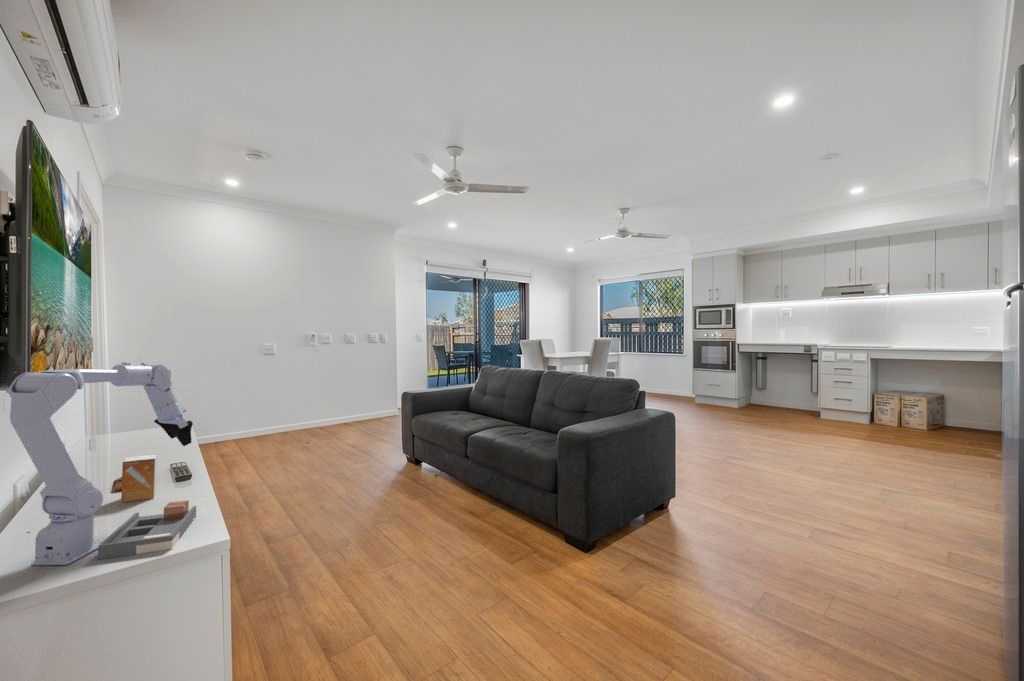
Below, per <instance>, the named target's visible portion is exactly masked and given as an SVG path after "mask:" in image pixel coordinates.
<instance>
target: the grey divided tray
mask: <svg viewBox="0 0 1024 681" xmlns="http://www.w3.org/2000/svg"><path fill="white" fill-rule="evenodd" d="M195 517H196V518H197V506H196V505H194V506H193V505H192V507H191V508H190V510H189V512H188V513H187V514H186V515H185V517H184V518H183V519H175V520H167V521H164V513H161V514H152V515H143V516H140V512H134V514H132V515H131V516H130V517H129V518H128V519H127V520H125V521H124V522H123V523H122V524H121V525H120V526H119V527H118V528H117V529H116V530H114V531H113V532H112V533H111V534H109V536H108V537H107V538H105V539H104V540H103V541H102V542H101V543H99V544H100V545H99V546H98V549H97V560H104V559H111V558H113V559H114V558H118V557H119V558H120V557H125V556H132V555H133V556H134V555H139V554H145V553H146V554H147V553H152V552H160V551H161V552H162V551H168V550H173V549H174V547H175V546H176V544H177V543H178V541H179V540H180V539H181V537H182V536H183V535H185V533H186V532H187V530H188V529H189V527H190V526H191V525H192V523H193V522H194V521H193V519H194V518H195ZM196 518H195V519H196ZM195 519H194V520H195ZM192 521H193V522H192ZM191 522H192V523H191ZM190 524H191V525H190ZM189 525H190V526H189ZM187 528H188V529H187ZM186 529H187V530H186ZM184 532H185V533H184Z"/></svg>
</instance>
